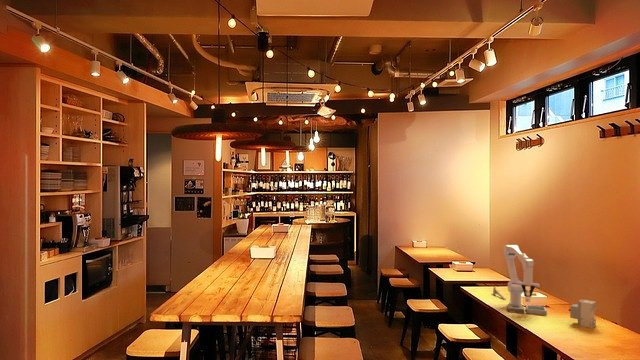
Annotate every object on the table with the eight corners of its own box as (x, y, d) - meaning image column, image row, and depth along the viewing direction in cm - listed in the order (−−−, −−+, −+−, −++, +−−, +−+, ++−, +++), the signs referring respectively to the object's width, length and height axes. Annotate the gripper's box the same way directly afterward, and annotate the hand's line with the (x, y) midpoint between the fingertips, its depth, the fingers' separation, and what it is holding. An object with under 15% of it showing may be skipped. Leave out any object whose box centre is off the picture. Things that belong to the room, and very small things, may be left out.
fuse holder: (507, 307, 341) (507, 304, 341) (522, 309, 338) (522, 305, 338) (508, 311, 330) (508, 308, 330) (524, 313, 327) (524, 309, 327)
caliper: (492, 294, 385) (493, 286, 385) (494, 294, 385) (494, 286, 385) (504, 300, 364) (504, 292, 364) (506, 300, 364) (506, 292, 365)
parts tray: (525, 309, 337) (525, 305, 337) (544, 311, 334) (544, 306, 334) (527, 313, 326) (527, 309, 326) (546, 315, 322) (546, 310, 322)
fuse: (525, 300, 334) (525, 289, 334) (530, 301, 332) (530, 289, 333) (525, 301, 330) (525, 290, 331) (530, 302, 329) (530, 290, 330)
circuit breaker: (571, 320, 310) (571, 297, 310) (595, 325, 300) (596, 301, 300) (567, 323, 305) (567, 299, 305) (592, 328, 295) (592, 303, 295)
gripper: (517, 276, 330) (516, 296, 330) (540, 278, 326) (539, 298, 325) (516, 275, 337) (516, 294, 337) (539, 276, 332) (538, 296, 332)
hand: (527, 296), depth 332 cm, fingers closed on fuse, 3 cm apart
